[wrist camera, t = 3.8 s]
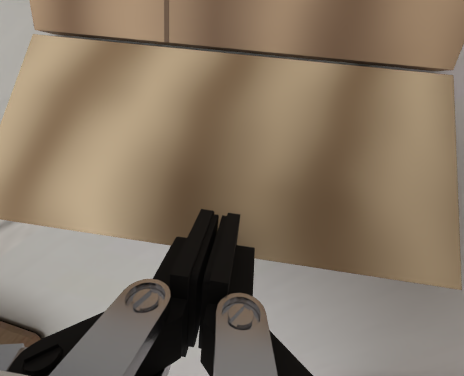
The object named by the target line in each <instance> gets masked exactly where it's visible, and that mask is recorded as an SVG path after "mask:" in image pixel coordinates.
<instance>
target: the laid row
mask: <svg viewBox="0 0 464 376" xmlns="http://www.w3.org/2000/svg"><path fill="white" fill-rule="evenodd" d="M30 6H31V11H32V17H33V23H34V28H35V30H39V31H43V32H47V33H52V34H59V35H69V36H79V37H89V38H100V39H110V40H120V41H131V42H141V43H151V44H162V45H172V46H182V47H193V48H203V49H213V50H223V51H234V52H244V53H254V54H265V55H275V56H285V57H296V58H306V59H316V60H326V61H337V62H347V63H357V64H368V65H378V66H388V67H399V68H409V69H419V70H429V71H444V70H453V69H454V66H455V64H456V61H457V59H458V56H459V54H460V51H461V49H462V46H463V44H464V0H30Z"/></svg>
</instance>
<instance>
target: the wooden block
mask: <svg viewBox="0 0 464 376" xmlns="http://www.w3.org/2000/svg"><path fill="white" fill-rule="evenodd" d="M39 340H41V338H40V337H39V336H38V335H37V334H36V333H33V332H30V331H27V330H24V329H21V328H19V327H16V326H13V325H10V324H7V323H4V322H2V321H0V345H1V344H19V343H23V344H24V346H25V347H29V346H30V345H32V344H34V343H35V342H37V341H39Z"/></svg>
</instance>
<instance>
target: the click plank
mask: <svg viewBox="0 0 464 376" xmlns="http://www.w3.org/2000/svg"><path fill="white" fill-rule="evenodd" d="M201 209H205V210H212V211H214V214H217V215H219V219H218V228H219V224H220V221H221V218H222V215H224V216H227V214H228V213H234V214H240V223H239V231H238V239H237V245H240V246H246V247H253V248H255V256H254V258H256V259H263V260H269V261H276V262H282V263H289V264H295V265H302V266H308V267H315V268H322V269H328V270H335V271H341V272H348V273H354V274H361V275H367V276H374V277H380V278H387V279H393V280H400V281H406V282H413V283H419V284H426V285H433V286H439V287H446V288H452V289H459V290H462V286H461V260H460V234H459V208H458V183H457V157H456V131H455V105H454V79H453V75H445V74H435V73H425V72H415V71H405V70H394V69H384V68H374V67H364V66H353V65H343V64H333V63H323V62H312V61H302V60H292V59H282V58H271V57H261V56H251V55H241V54H231V53H220V52H210V51H200V50H190V49H179V48H169V47H159V46H149V45H138V44H128V43H118V42H108V41H97V40H87V39H77V38H67V37H56V36H46V35H36V34H33V36H32V39H31V41H30V44H29V47H28V50H27V52H26V55H25V58H24V61H23V63H22V66H21V69H20V72H19V74H18V77H17V80H16V83H15V85H14V88H13V91H12V94H11V97H10V99H9V102H8V105H7V108H6V110H5V113H4V116H3V119H2V121H1V124H0V219H2V220H8V221H15V222H21V223H28V224H34V225H41V226H47V227H54V228H60V229H67V230H73V231H80V232H87V233H93V234H100V235H106V236H113V237H119V238H126V239H132V240H139V241H145V242H152V243H158V244H165V245H172V243H173V242H174V240H175V238H176V237H185V238H187V237H188V235H189V233H190V231H191V229H192V227H193V225H194V223H195V221H196V218H197V216H198V214H199V212H200V210H201ZM217 231H218V230H217Z"/></svg>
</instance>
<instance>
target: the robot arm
mask: <svg viewBox="0 0 464 376" xmlns="http://www.w3.org/2000/svg"><path fill="white" fill-rule="evenodd" d="M218 219H219V215H217V214H214V211H212V210H205V209H201V210H200V212H199V214H198V216H197V218H196V221H195V223H194V225H193V227H192V229H191V231H190V233H189V235H188V237H187V238H185V237H176V238H175V240H174V242H173V243H172V245H171V247H170V249H169V251H168V252H167V254H166V256H165V258H164V260H163V261H162V263H161V265H160V267H159V269H158V270H157V272H156V274H155V276H154V278H153V279H143V280H140V281H137V282H135V283H133V284H131V285H129V286H128V287H127V288H126V289H125V290H124V291H123V292H122V293H121V294H120V295H119V296H118V298H117V299H116V300H115V301H114V302H113V303H112V304H111V305H110V307H109V308H108V309H107V310H106V311H105V312H103V313H100V314H98V315H96V316H93V317H91V318H89V319H87V320H84V321H82V322H80V323H77V324H75V325H73V326H71V327H68V328H66V329H64V330H61V331H59V332H57V333H55V334H52V335H50V336H48V337H45V338H43V339H41V340H39V341H37V342H35V343H34V344H32V345H30V346H29V347H25V346H24V344H23V343H19V344H1V345H0V376H167V375H168V373H169V370H170V365H171V364H172V363H174V362H175V361H177V360H178V359H180V358H181V356H183V357H186V354H187V350H188V346H190V347H194V345H195V342H196V338H197V334H198V330H199V326H200V331H199V348H201V363H202V364H203V366H204V368H205V369H206V371H207V372H208V374H209V375H210V376H313V375H312V374H311V373H310V372H309V371H308V370H307V369H306V368H305V367H304V366H303V365H302V364H301V363H300V362H299V361H298V360H297V359H296V357H295V356H294V355H293V354H292V353H291V352H290V351H289V350H288V349H287V348H286V347H285V346H284V345H283V344H282V343H281V342H280V341H279V340H278V339H277V338H276V337H275V336H274V335H273V334H272V332H271V331H270V330H269V327H268V321H267V316H266V312H265V309H264V307H263V305H262V304H261V303H260V301H258V300H257V299H256V298H254V297H253V276H254V256H255V248H253V247H246V246H240V245H237V239H238V231H239V223H240V214H234V213H228V214H227V216H224V215H222V218H221V221H220V224H219V228H218ZM217 230H218V231H217Z"/></svg>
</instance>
